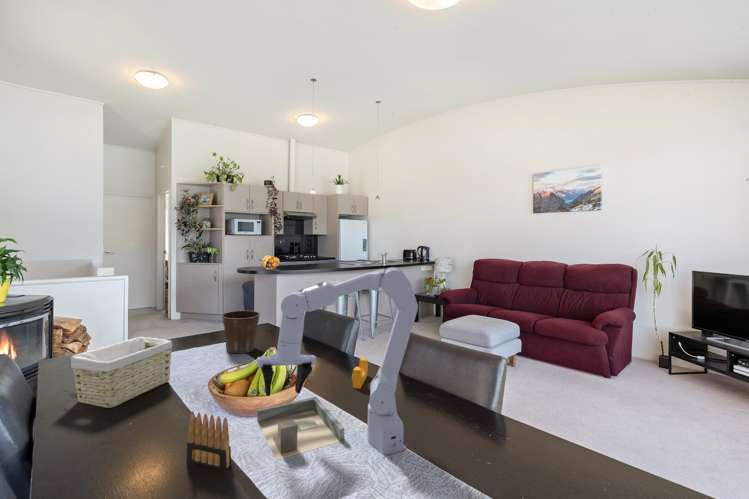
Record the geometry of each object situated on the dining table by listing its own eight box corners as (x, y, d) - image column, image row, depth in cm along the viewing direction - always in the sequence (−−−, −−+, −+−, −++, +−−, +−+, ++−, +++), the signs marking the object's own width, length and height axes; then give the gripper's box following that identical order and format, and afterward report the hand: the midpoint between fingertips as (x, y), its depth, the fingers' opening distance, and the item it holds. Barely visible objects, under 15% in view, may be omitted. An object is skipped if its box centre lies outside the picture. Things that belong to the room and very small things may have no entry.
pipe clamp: (356, 375, 138) (356, 357, 138) (367, 376, 137) (367, 358, 137) (347, 388, 126) (348, 369, 126) (360, 389, 125) (360, 370, 125)
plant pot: (267, 348, 168) (268, 313, 167) (237, 358, 154) (237, 320, 153) (244, 342, 176) (244, 308, 176) (213, 351, 163) (213, 314, 162)
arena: (344, 443, 92) (344, 428, 92) (276, 463, 84) (276, 446, 84) (315, 410, 110) (316, 396, 110) (257, 423, 101) (257, 409, 101)
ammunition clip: (231, 468, 82) (231, 415, 81) (226, 474, 80) (226, 419, 80) (192, 459, 85) (192, 408, 84) (186, 464, 83) (185, 412, 83)
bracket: (297, 449, 88) (297, 424, 88) (280, 454, 86) (280, 429, 86) (288, 435, 94) (288, 412, 94) (273, 439, 92) (273, 415, 92)
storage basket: (107, 412, 107) (106, 362, 106) (68, 403, 112) (67, 355, 111) (175, 381, 129) (174, 339, 129) (140, 375, 134) (139, 335, 134)
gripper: (312, 335, 99) (305, 384, 100) (257, 335, 92) (250, 388, 93) (321, 343, 93) (314, 396, 94) (263, 344, 86) (255, 401, 87)
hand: (282, 393), depth 93 cm, fingers open, 7 cm apart
